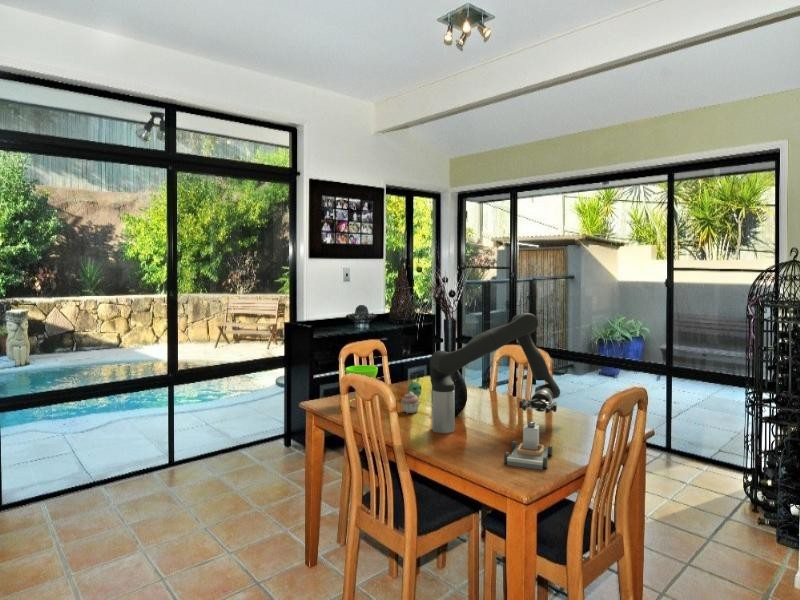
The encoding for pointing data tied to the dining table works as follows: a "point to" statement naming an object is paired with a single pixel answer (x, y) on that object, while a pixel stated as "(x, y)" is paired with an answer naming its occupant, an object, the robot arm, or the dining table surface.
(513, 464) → the chassis
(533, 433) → the block
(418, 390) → the alien toy
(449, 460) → the dining table surface
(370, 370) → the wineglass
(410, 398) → the cupcake
